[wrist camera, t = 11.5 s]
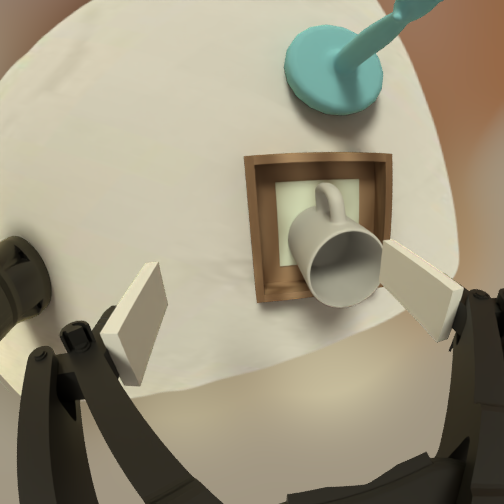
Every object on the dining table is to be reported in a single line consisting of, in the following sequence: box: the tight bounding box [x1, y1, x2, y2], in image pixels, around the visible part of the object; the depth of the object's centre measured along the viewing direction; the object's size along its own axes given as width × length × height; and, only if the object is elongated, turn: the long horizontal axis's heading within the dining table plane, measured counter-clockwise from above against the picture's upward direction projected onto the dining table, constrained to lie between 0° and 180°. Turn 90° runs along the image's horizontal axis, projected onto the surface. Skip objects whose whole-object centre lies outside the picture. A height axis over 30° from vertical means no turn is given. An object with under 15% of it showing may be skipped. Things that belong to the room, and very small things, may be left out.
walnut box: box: [244, 152, 392, 303], centre depth 34 cm, size 18×18×4 cm
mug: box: [288, 183, 383, 308], centre depth 29 cm, size 12×8×11 cm
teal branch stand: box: [284, 0, 443, 115], centre depth 17 cm, size 12×12×25 cm
